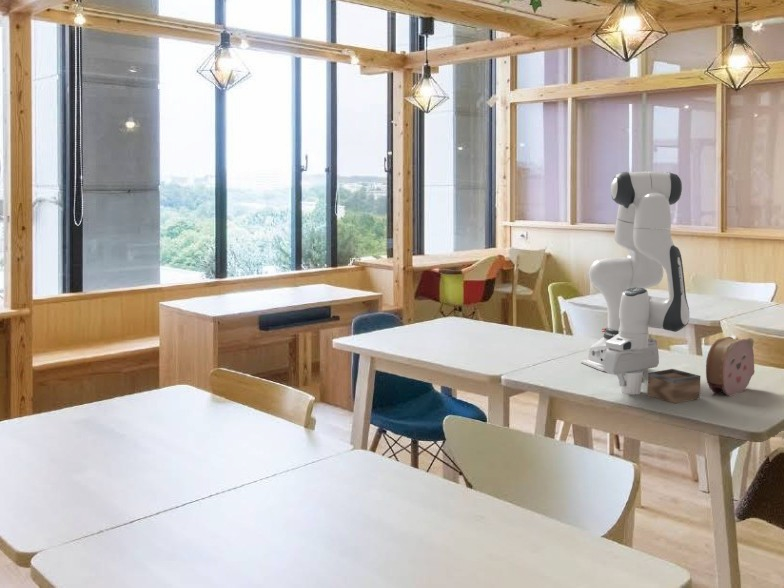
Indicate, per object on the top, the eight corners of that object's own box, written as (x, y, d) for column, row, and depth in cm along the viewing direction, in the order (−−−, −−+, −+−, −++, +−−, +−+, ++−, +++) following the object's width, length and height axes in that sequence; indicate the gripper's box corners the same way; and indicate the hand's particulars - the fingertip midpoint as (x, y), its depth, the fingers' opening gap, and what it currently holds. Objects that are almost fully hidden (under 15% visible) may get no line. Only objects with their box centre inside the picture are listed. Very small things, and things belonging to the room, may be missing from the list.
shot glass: (630, 396, 247) (631, 373, 246) (614, 391, 253) (615, 369, 252) (647, 393, 250) (647, 371, 249) (630, 388, 256) (631, 366, 255)
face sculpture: (724, 399, 243) (727, 345, 240) (703, 395, 248) (705, 341, 245) (754, 387, 256) (757, 336, 253) (733, 383, 261) (736, 333, 258)
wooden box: (647, 395, 248) (648, 372, 247) (671, 390, 253) (672, 368, 252) (674, 403, 239) (676, 380, 238) (699, 398, 244) (700, 375, 243)
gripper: (649, 335, 257) (647, 378, 259) (601, 342, 247) (600, 386, 249) (664, 338, 251) (662, 382, 253) (616, 346, 241) (615, 391, 243)
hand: (631, 384), depth 251 cm, fingers open, 6 cm apart
